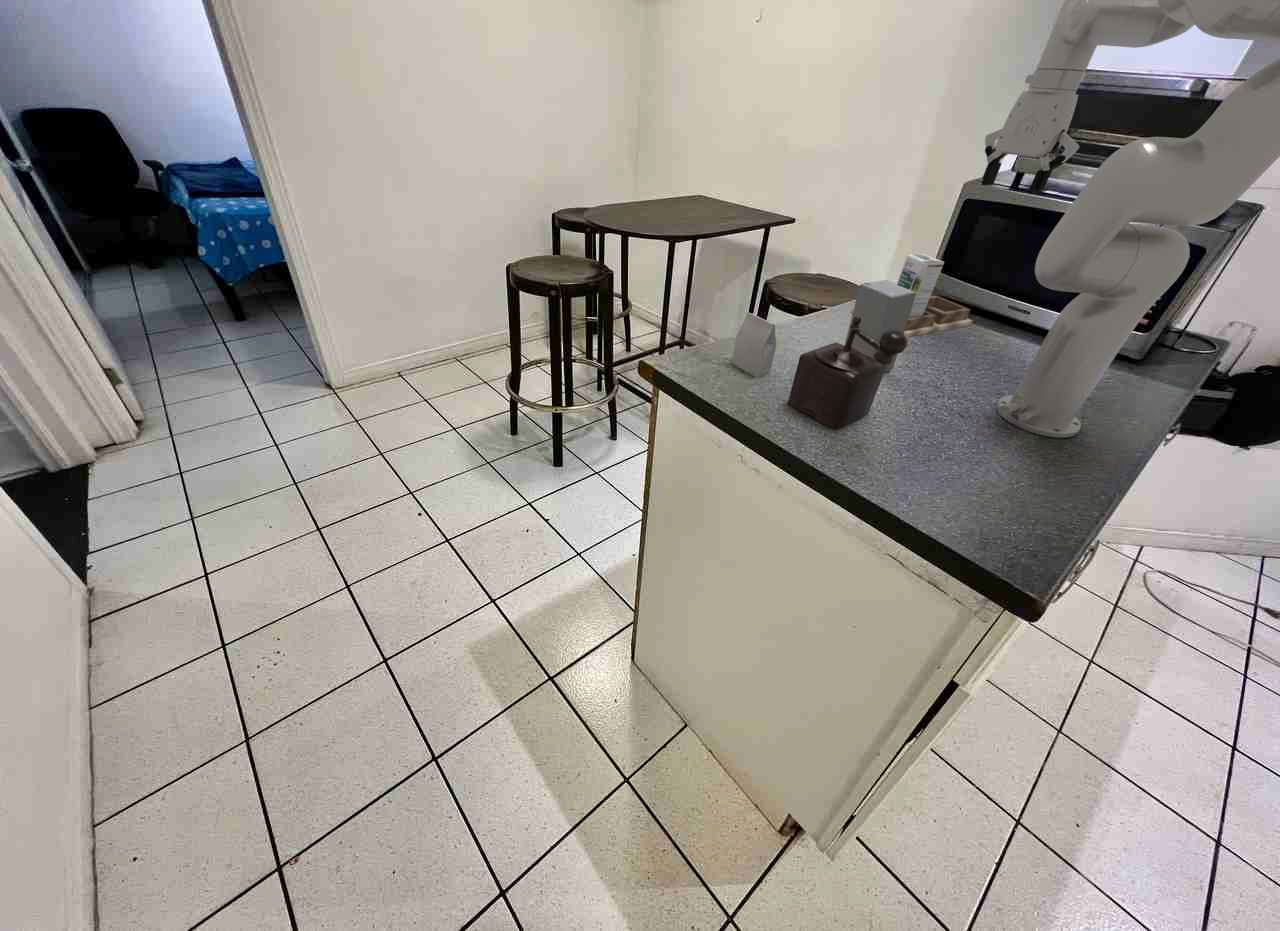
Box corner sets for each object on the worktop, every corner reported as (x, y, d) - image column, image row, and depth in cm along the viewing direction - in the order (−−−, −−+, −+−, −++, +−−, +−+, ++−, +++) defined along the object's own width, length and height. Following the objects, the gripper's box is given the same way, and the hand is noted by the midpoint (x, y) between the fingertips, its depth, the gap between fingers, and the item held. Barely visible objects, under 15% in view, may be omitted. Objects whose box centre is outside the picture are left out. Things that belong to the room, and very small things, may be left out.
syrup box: (883, 317, 124) (905, 254, 116) (903, 315, 126) (926, 253, 117) (900, 326, 120) (924, 261, 111) (920, 324, 122) (946, 260, 113)
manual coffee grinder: (782, 404, 91) (808, 303, 80) (820, 387, 97) (850, 291, 86) (860, 448, 81) (901, 340, 71) (897, 426, 87) (941, 323, 76)
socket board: (902, 338, 117) (907, 323, 115) (850, 312, 129) (854, 298, 126) (971, 324, 127) (977, 310, 125) (917, 301, 138) (922, 288, 136)
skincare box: (892, 372, 103) (923, 292, 94) (863, 376, 101) (892, 295, 91) (863, 354, 110) (889, 277, 100) (835, 357, 107) (860, 280, 98)
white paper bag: (756, 377, 98) (767, 327, 92) (731, 363, 103) (740, 313, 96) (769, 373, 100) (781, 323, 94) (745, 359, 104) (754, 310, 98)
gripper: (997, 80, 99) (958, 182, 109) (1095, 84, 87) (1042, 198, 97) (1019, 82, 102) (980, 181, 112) (1118, 86, 90) (1064, 196, 100)
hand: (1009, 189), depth 105 cm, fingers open, 9 cm apart
